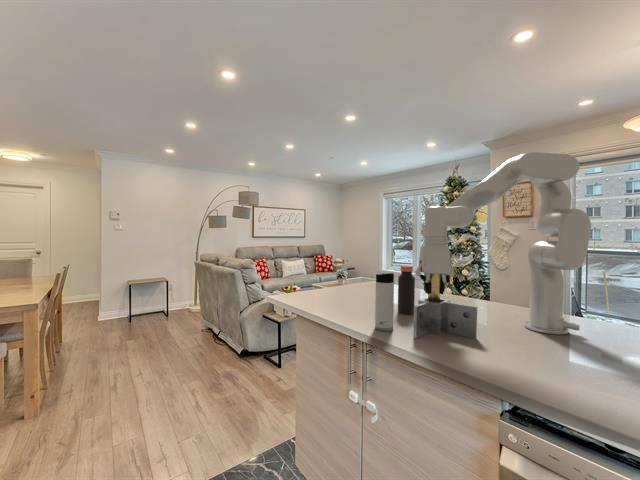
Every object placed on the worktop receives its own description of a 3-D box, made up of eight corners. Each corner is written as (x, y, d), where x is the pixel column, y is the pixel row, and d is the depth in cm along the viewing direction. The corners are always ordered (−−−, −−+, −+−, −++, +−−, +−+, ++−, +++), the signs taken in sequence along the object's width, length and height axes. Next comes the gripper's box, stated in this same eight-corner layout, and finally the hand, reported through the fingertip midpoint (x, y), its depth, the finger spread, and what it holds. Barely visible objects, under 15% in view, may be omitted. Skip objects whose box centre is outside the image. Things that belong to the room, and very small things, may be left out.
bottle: (416, 315, 126) (417, 266, 126) (399, 314, 126) (400, 266, 126) (411, 310, 133) (412, 265, 132) (396, 310, 133) (396, 265, 132)
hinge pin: (441, 305, 107) (442, 271, 107) (436, 307, 104) (437, 272, 104) (430, 303, 110) (431, 270, 110) (425, 305, 107) (426, 271, 107)
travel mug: (383, 333, 102) (384, 274, 102) (371, 327, 108) (372, 271, 108) (397, 330, 105) (398, 273, 105) (385, 325, 111) (386, 270, 111)
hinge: (480, 335, 101) (480, 305, 100) (459, 350, 88) (460, 315, 88) (428, 324, 113) (428, 296, 113) (403, 335, 100) (404, 304, 100)
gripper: (454, 241, 111) (453, 291, 111) (408, 241, 111) (407, 291, 111) (464, 242, 103) (462, 296, 104) (415, 241, 103) (413, 295, 103)
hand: (434, 292), depth 107 cm, fingers closed on hinge pin, 4 cm apart
